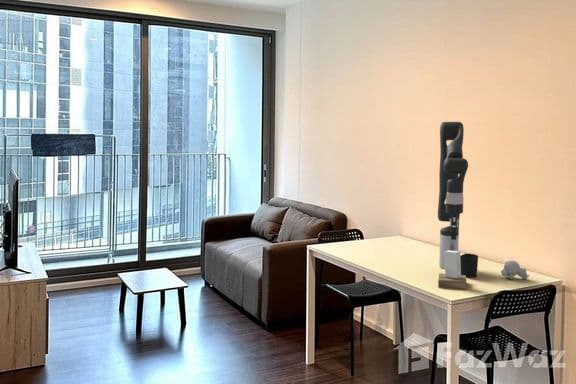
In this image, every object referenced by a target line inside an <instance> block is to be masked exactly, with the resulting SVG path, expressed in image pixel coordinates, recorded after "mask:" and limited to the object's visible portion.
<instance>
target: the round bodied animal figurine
mask: <svg viewBox="0 0 576 384" xmlns="http://www.w3.org/2000/svg"><path fill="white" fill-rule="evenodd" d="M500 273H501V276H503V277H507V278H508V279H509V280H512V281H513V280H514V278H515V276H518V277H520V278H521V279H522V280H526V281H527V279H528V278H529V277H530V274H528V273H527V268H526V267H524V268H522V267H521V265H520V264H519V263H518V262H517V261H515V260H508V261H506V262H504V265H503V269H502V270H501V271H500Z"/></svg>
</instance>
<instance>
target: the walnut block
mask: <svg viewBox="0 0 576 384" xmlns="http://www.w3.org/2000/svg"><path fill="white" fill-rule="evenodd" d="M437 281H438V284H437V285H438V286H437V287H438V289H440V288H441V289H452V290H464V291H465V290H467V278H466V275H461V277H460V278H458V279H456V278H449V277H445V273H439V274H438V280H437Z"/></svg>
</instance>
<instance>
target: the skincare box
mask: <svg viewBox="0 0 576 384" xmlns="http://www.w3.org/2000/svg"><path fill="white" fill-rule="evenodd" d="M444 256H445V269H444V274H445V277H449V278H456V279H458V278H460V277H461V261H460V256H461V251H460V250H458V251H450V250H448V251H445V252H444Z"/></svg>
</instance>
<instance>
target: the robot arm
mask: <svg viewBox="0 0 576 384" xmlns="http://www.w3.org/2000/svg"><path fill="white" fill-rule="evenodd" d="M464 131H465V129H464V124H463V123H462V122H461V121H442V122H441V124H440V126H439V144H440V145H439V147H440V150H439V151H440V153H439V154H440V156H439V157H440V158H439V173H438V174H439V180H438V181H439V186H438V187H439V194H438V205H437V220H438V221H439V222H447V223H449V225H448V226H445V227H442V228H440V231H439V233H440V234H439V262H438V263H439V266H438V267H439V268H440V269H444V270H445V256H444V252H445V251H448V250H450V251H459V246H460V245H459V243H460V242H459V237H460V236H459V234H460V232H459V231H460V228H459V227H460V217H461V214H463V213H464V181H465V178H466V174H467V171H468V168H469V161H468V160H467V158H464V155H463V154H464V153H463V144H464V134H465V133H464ZM448 141H450V143H447V142H448Z"/></svg>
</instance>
